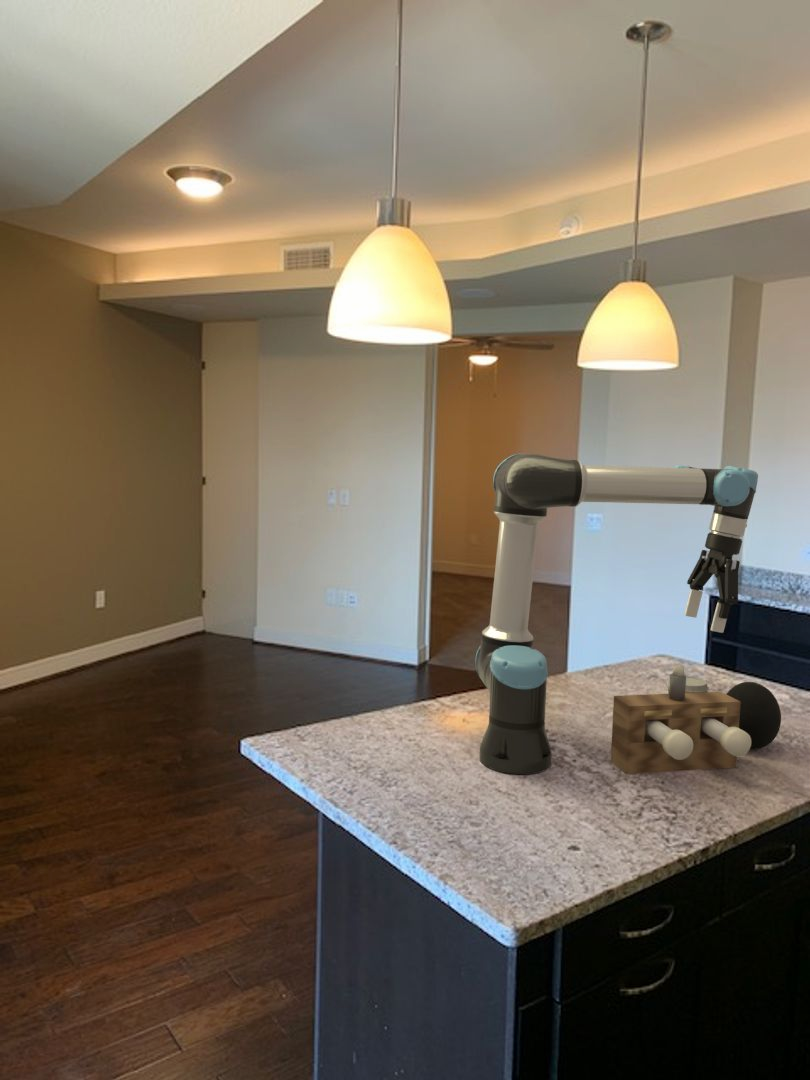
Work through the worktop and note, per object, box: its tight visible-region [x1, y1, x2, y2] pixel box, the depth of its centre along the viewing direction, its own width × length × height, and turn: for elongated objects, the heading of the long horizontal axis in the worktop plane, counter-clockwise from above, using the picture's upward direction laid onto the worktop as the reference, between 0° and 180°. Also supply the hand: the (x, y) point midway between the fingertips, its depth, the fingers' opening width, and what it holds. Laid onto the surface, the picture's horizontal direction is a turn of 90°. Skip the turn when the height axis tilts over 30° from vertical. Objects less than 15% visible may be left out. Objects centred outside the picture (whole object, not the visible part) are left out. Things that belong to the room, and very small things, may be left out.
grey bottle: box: [668, 664, 687, 701], centre depth 163 cm, size 3×3×7 cm
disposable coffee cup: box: [665, 675, 710, 694], centre depth 186 cm, size 10×10×12 cm
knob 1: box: [645, 719, 693, 760], centre depth 158 cm, size 5×15×5 cm, turn 11°
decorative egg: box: [726, 681, 782, 751], centre depth 175 cm, size 12×12×15 cm
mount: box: [610, 691, 741, 775], centre depth 164 cm, size 25×7×14 cm, turn 101°
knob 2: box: [700, 717, 751, 757], centre depth 160 cm, size 5×15×5 cm, turn 11°
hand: (702, 623), depth 181 cm, fingers open, 13 cm apart
